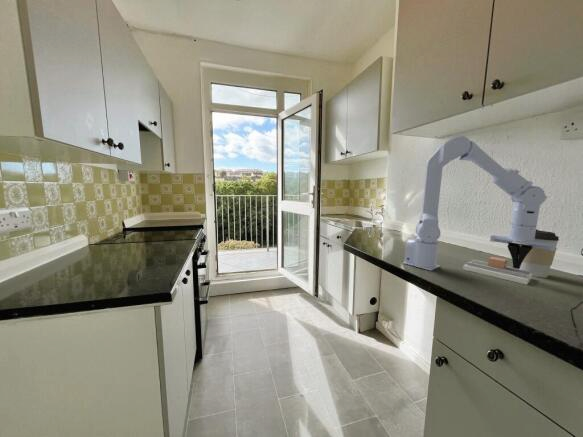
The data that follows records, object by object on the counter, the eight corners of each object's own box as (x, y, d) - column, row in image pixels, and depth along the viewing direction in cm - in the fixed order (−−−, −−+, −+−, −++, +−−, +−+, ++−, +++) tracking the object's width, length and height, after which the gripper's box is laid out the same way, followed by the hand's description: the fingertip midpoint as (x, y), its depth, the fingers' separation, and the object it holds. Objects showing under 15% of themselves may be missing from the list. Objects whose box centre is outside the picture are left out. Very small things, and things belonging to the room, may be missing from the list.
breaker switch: (487, 268, 80) (488, 258, 79) (490, 266, 82) (491, 256, 81) (503, 271, 76) (504, 261, 76) (505, 269, 79) (507, 259, 78)
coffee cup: (560, 280, 76) (569, 233, 74) (527, 277, 78) (534, 231, 76) (537, 271, 85) (544, 229, 83) (508, 268, 86) (514, 227, 85)
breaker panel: (462, 269, 83) (463, 262, 82) (471, 265, 88) (471, 258, 88) (527, 284, 70) (528, 276, 70) (531, 278, 76) (532, 271, 76)
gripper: (490, 222, 77) (484, 263, 78) (557, 229, 66) (548, 277, 67) (495, 221, 81) (489, 260, 83) (559, 228, 70) (551, 272, 72)
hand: (516, 267), depth 75 cm, fingers closed
